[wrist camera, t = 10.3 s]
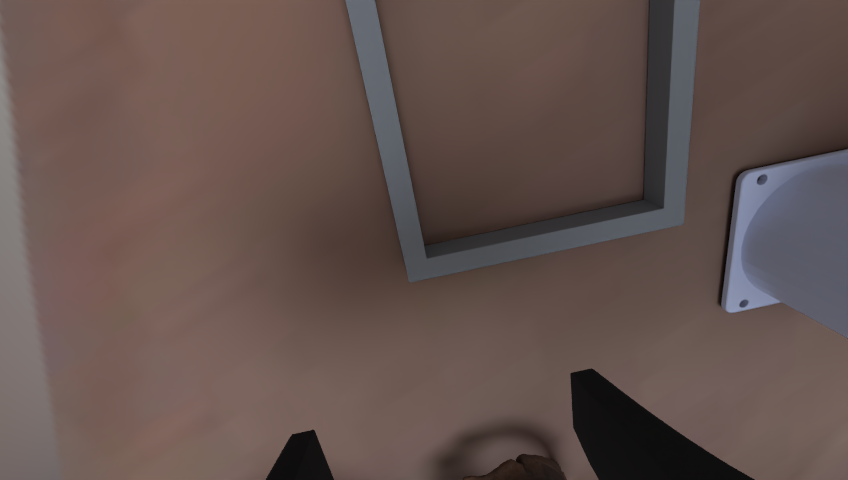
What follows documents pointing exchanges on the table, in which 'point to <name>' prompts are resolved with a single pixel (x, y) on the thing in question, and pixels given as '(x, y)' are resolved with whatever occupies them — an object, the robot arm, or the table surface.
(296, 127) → the table surface
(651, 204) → the grey square frame
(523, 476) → the brown animal figurine
